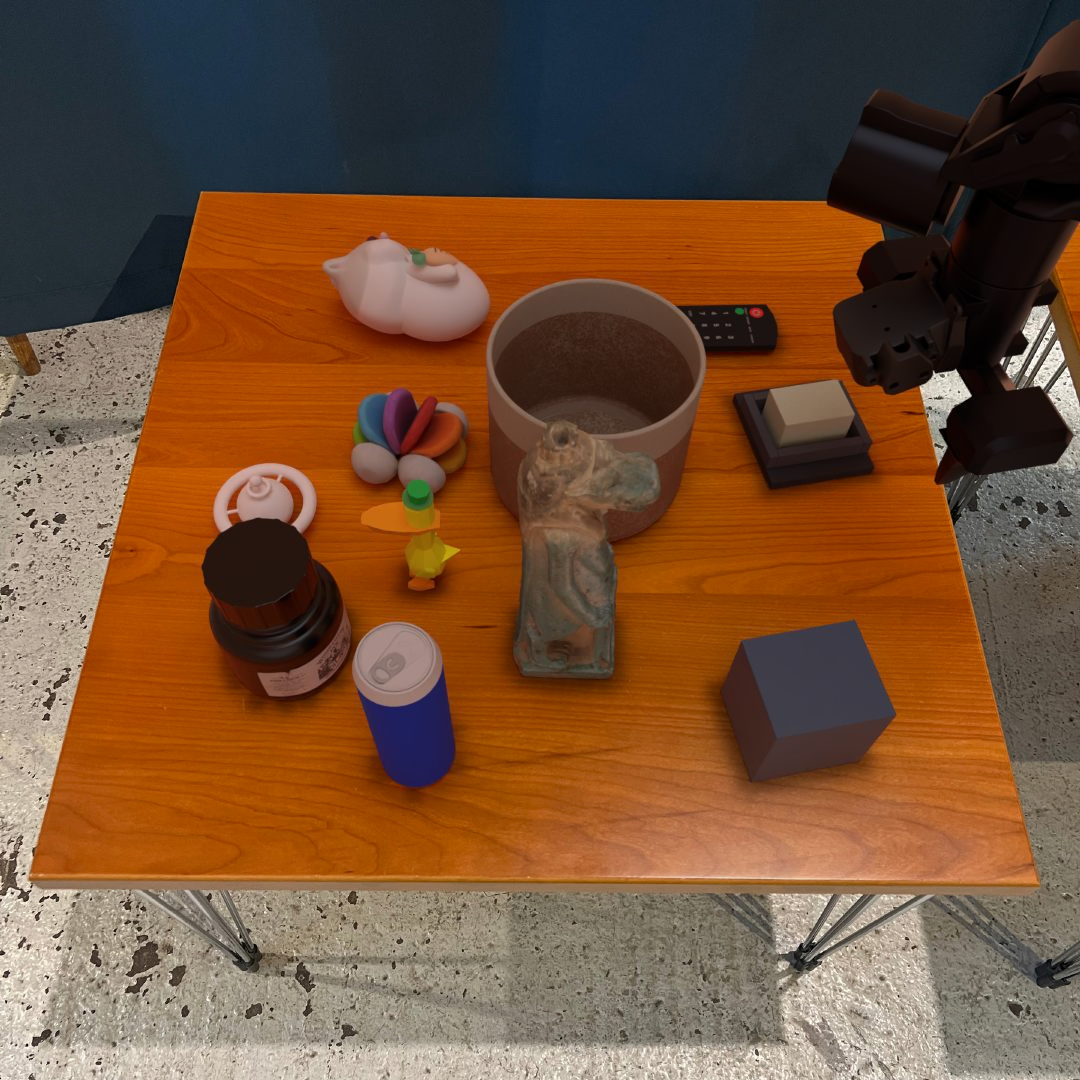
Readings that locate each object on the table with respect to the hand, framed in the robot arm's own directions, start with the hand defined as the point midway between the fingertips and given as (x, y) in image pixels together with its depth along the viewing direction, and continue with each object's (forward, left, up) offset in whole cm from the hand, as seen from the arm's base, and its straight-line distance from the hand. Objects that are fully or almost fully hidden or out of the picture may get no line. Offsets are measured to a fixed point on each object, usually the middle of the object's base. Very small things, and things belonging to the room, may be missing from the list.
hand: (914, 431), depth 69 cm
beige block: (+2, -10, -11) cm, 15 cm away
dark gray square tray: (+2, -10, -12) cm, 15 cm away
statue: (+26, +6, -12) cm, 29 cm away
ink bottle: (+46, +2, -12) cm, 48 cm away
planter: (+21, -10, -12) cm, 26 cm away
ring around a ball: (+47, -10, -12) cm, 50 cm away
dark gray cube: (+12, +15, -12) cm, 23 cm away
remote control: (+12, -24, -12) cm, 29 cm away
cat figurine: (+33, -30, -12) cm, 46 cm away
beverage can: (+38, +12, -12) cm, 42 cm away
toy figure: (+36, -2, -12) cm, 38 cm away
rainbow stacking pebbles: (+35, -14, -12) cm, 40 cm away
